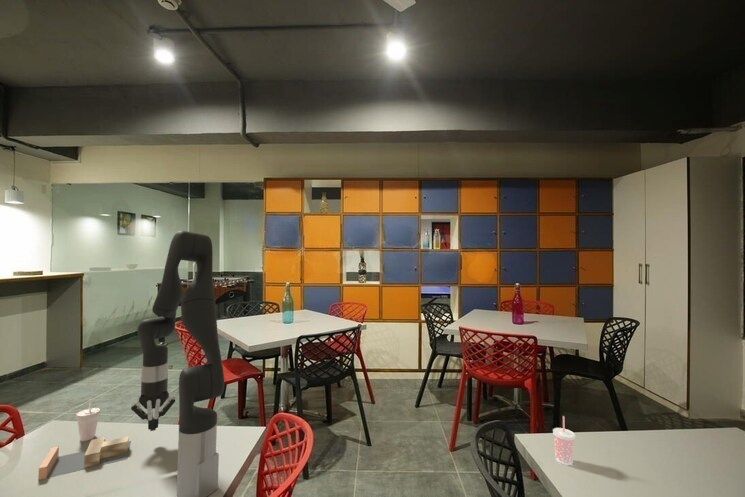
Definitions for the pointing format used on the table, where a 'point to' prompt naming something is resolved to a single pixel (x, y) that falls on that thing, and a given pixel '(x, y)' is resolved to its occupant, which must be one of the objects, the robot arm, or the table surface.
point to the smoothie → (87, 422)
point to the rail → (48, 463)
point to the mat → (80, 462)
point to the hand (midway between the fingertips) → (153, 429)
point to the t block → (104, 449)
